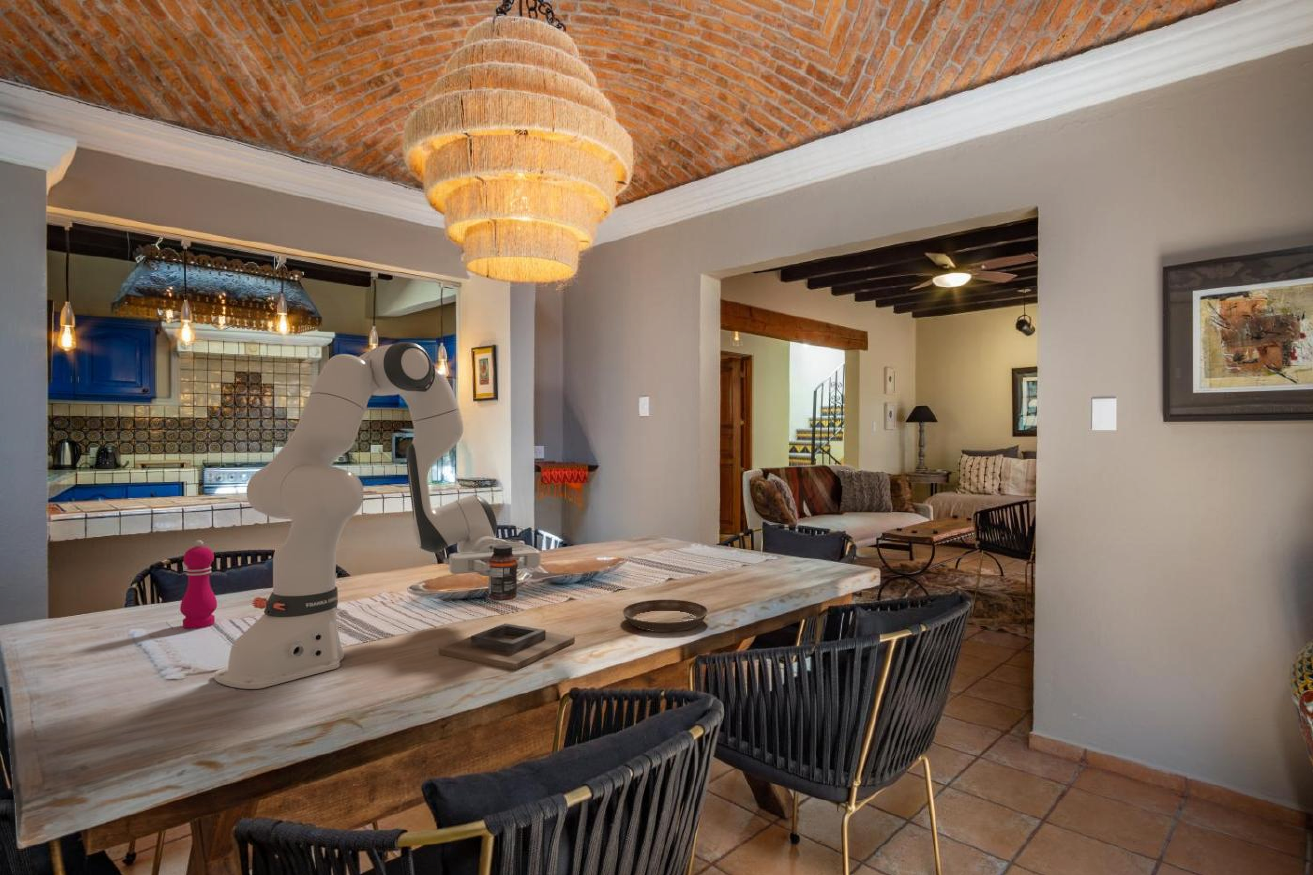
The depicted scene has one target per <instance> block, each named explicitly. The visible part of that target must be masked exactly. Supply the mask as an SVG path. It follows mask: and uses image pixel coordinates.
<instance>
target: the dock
mask: <svg viewBox="0 0 1313 875" xmlns="http://www.w3.org/2000/svg"><path fill="white" fill-rule="evenodd" d="M546 630H547V629H541V628H536V627H528V626H524V625H523V626H522V625H517V624H513V623H503V624H500V625H496V626H495V627H492V628H489V629H486V630H484V631H482V632H478V633H476V634H473V635H471V636H468V637H465V638H463V639H461V640H458V641H455V642H452V643H449V644H447V645H444V646H442V647H439V648H438V654H439V655H440V656H447V657H449V658H450V657H451V658H456V659H459V660H460V659H461V660H466V661H471V662H475V663H480V664H485V665H489V666H494V667H499V668H504V669H510V670H514V671H517V670H519V669H521V668H523V667H526V666H528V665H529V664H533V663H534V662H536V661H538V660H540V659H543V658H544V657H547V656H549V655H552V654H554V653H556V652H557V650H558V651H560V650H562V649H564V648H566V647H568V646H570V645H572V644H574V642H575V641H576V640H575V639H576V637H575V636H571V635H566V634H559V633H554V632H548V631H546ZM559 649H560V650H559Z"/></svg>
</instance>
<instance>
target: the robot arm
mask: <svg viewBox="0 0 1313 875" xmlns="http://www.w3.org/2000/svg"><path fill="white" fill-rule="evenodd" d="M397 395H399V396H400V397H401V398H402V399H403V400H404V402H405V404H406V405H407V407H408V411H409V415H410V419H411V421H412V426H413V437H412V442H411V443H410V444H409V445H408V446H407V448H406V452H405V453H406V454H405V455H406V456H405V457H406V458H405V459H406V468H407V469H406V470H407V479H408V485H409V486H408V487H409V494H410V501H411V509H412V518H413V519H412V521H413V527H412V530H413V536H414V540H415V542H416V544H417V545H418V548H420V549H421V550H423V551H425V552H429V553H433V554H438V553H439V552H441V551H443V550H445V549H447V548H449V547H450V546H453V545H455V544H457V545H456V548H457V549H456V550H457V552H453V553H449V555H448V558H443V563H444V564H446V565H448V570H449V572H450V574H453V575H457V574H458V575H459V574H472V573H475V574H478V575H479V576H483V577H489V571H490V563H489V559H490V557H491V556H492V555H493V554H494V552H493V550H494V546H497V545H510V546H512V554H513V555H514V556H515V557H516V559H517V570H523V569H531V568H539V567H540V566H541V551H540V550H538V548H535V547H534V546H532V545H529V544H526V543H525V541H524V540H517V539H516V540H513V539H502V538H499V537H495V536H496V534H497V530H498V523H497V517H496V515H495V512H494V511H493V508H492V506H491V505H490V504H489V502H488V501H487V500H486V499H484V498H483V497H481V496H479V495H476V494H471V495H468V496H465V497H462V498H460V499H456V500H454V501H453V502H449V503H446V504H443V505H441V506H438V507H432V504H431V496H430V495H431V494H430V488H429V487H430V486H429V479H428V477H429V471H430V469H431V468H432V467H433V465H434V464H435V463H436V462H437V461H438V460H440V459H441V458H442V457H443V456H445V455H446V454H447V453H449V452H450V451H451V450H452V449H453V448H454V447H456V445H457V444H458V443H459V441H460V440H461V437H462V436H463V434H464V433H463V432H464V422H463V417H462V413H461V410H460V408H459V403H458V401H457V398H456V395H455V393H454V391H453V388H452V386H451V384H450V381H448V378H447V377H446V375H445V373H444V372H443V371H442V370H440V369H439V368H435V365H434V363H433V361H432V359H431V357H430V355H429V354H428V352H427V351H426V350H425V348H424V347H422V346H421V345H419V344H417V343H415V342H411V341H410V342H408V341H399V342H396V343H393V344H392V343H391V344H387V345H386V344H385V345H380V346H376V347H374V348H372V349H369V350H367V351H363V352H361V353H359V354H358V355H353V354H348V353H339V354H336V355H334V356H332V357H330V358H329V359H328V360H327V361H326V363H325V364H324V366H323V368H322V369H321V371H320V372H319V374H318V376H317V378H316V380H315V382H314V385H313V386H312V388H311V390H310V393H309V395H308V398H307V400H306V403H305V406H304V408H303V411H302V412H301V415H300V418H299V419H298V423H297V425H296V426H295V428H294V431H293V433H292V434H291V436H290V437H289V438H288V440H287V441H286V443H285V444H284V446H283V447H282V448H281V450H280V451H278V453H277V454H276V455H275V456H274V458H273V459H272V460H270V462H269V463H268V464H266V465H265V466H264V467H262V468H260V469H258V471H256V472H254V473H253V475H252V476H251V477H250V479H249V481H248V483H247V486H246V499H247V501H248V504H249V505H250V506H251V508H252V509H253V510H255V511H256V512H258V513H261V514H263V515H265V516H267V517H271V518H274V519H281V520H291V525H290V528H289V532H288V534H287V538H286V539H285V541H284V543H282V544H281V545H279V546H278V547H277V548H276V550H275V551H274V554H273V557H272V588H273V589H272V592H271V593H270V595H269V598H268V599H267V598H264V597H263V598H262V597H261V596H257V597H255V598H253V600H252V603H251V605H252V607H253V608H255V609H261V610H262V609H264V610H263V613H264V614H263V615H262V616H261V617H260V618H258V619H257V621H255V622H254V623H253V624H252V625H251V626H250V627H249V628H248V629H247V630H246V631H244V632H243V633H242V634H241V635H240V636H239V637H238V638H237V639H236V640H234V642H233V643H232V646H231V648H230V652H229V658H228V662H227V663H228V664H227V666H226V667H223V668H220V669H217V670H216V671H215V672H214V676H213V680H214V681H215V682H217V683H219V684H221V685H224V686H228V687H232V688H236V689H247V690H251V689H252V690H253V689H254V690H255V689H256V690H258V689H264V688H268V687H271V686H276V685H279V684H282V683H287V682H290V681H295V680H297V679H298V680H299V679H302V678H305V677H309V676H313V675H317V674H320V673H324V672H327V671H332V670H336V669H338V668H340V666H341V664H340V663H341V661H342V660H343V659H344V657H345V653H344V651H343V648H342V644H341V640H340V634H339V628H338V621H337V608H338V604H339V602H338V601H339V596H338V595H339V593H338V591H339V590H338V587H337V586H336V564H337V549H338V546H339V542H340V538H341V536H342V532H343V530H344V528H345V526H346V524H347V523H348V521H349V520H350V519H351V518H352V517H353V516H354V515H356V514H357V513H358V511H359V510H360V508H361V506H362V504H363V501H364V497H365V496H364V495H365V493H364V492H365V491H364V486H363V483H362V480H361V479H360V477H359V476H357V474H355V473H354V472H353V471H350V470H346V469H344V468H340V467H337V466H332V465H333V464H334V463H335V462H336V461H337V459H338V458H340V457H341V456H343V455H344V454H346V453H348V451H350V450H351V449H352V447H353V446H354V444H355V442H356V439H357V436H358V432H359V430H360V427H361V425H362V421H363V419H364V416H365V413H366V410H367V406H368V403H369V400H370V399H371V398H381V397H383V396H397Z"/></svg>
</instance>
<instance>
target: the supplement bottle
mask: <svg viewBox="0 0 1313 875" xmlns="http://www.w3.org/2000/svg"><path fill="white" fill-rule="evenodd" d="M493 552H494V554H493V555H492V556H491V557H490V559H489V563H490V571H489V576H488V598H489V599H490V600H492V601H497V602H500V601H501V602H502V601H511V600H513V599H515V598H517V595H518V594H517V589H518V588H517V587H518V586H517V584H518V583H517V581H518V579H517V575H518V574H517V573H518V572H517V570H518V569H517V559H516V557H515V556H514V555H513V554H512V546H510V545H497V546H494V550H493Z"/></svg>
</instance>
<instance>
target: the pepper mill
mask: <svg viewBox="0 0 1313 875" xmlns="http://www.w3.org/2000/svg"><path fill="white" fill-rule="evenodd" d="M214 555H215V554H214V551H213V550H212V549H211V548H209V547H207V546H204V542H203V540H201V539H198V540H195V541H194V546H193V547H192V548H191V547H190V548H189V549H188V550H186V551H185V553H184V555H183V563H184V565H185V566H186V567H187V568H186V569H185V570H186V573H185V575H186V576H187V577H188V580H187V581H188V583H187V587H186V591H185V593H184V595H183V597H182V600H181V602H180V608H179V611H180V613H181V614H182V615H183V616H184V618H183V619H182V628H183V627H184V628H183V629H187V628H195V629H202V628H201V627H203V628H208V627H211V626H213V625H214V624H215V619H216V618H215V615H214V614H213V613H214V612H215V610H216V609H217V607H218V604H217V603H218V601H217V598H216V597H217V596H216V595H215V593H214V591H213V589H212V587H211V582H210V574H211V573H212V566H211V565H212V563H213V562H214V561H215V560H214V559H215V556H214ZM212 624H213V625H212ZM210 625H211V626H210ZM207 626H208V627H207Z"/></svg>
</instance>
